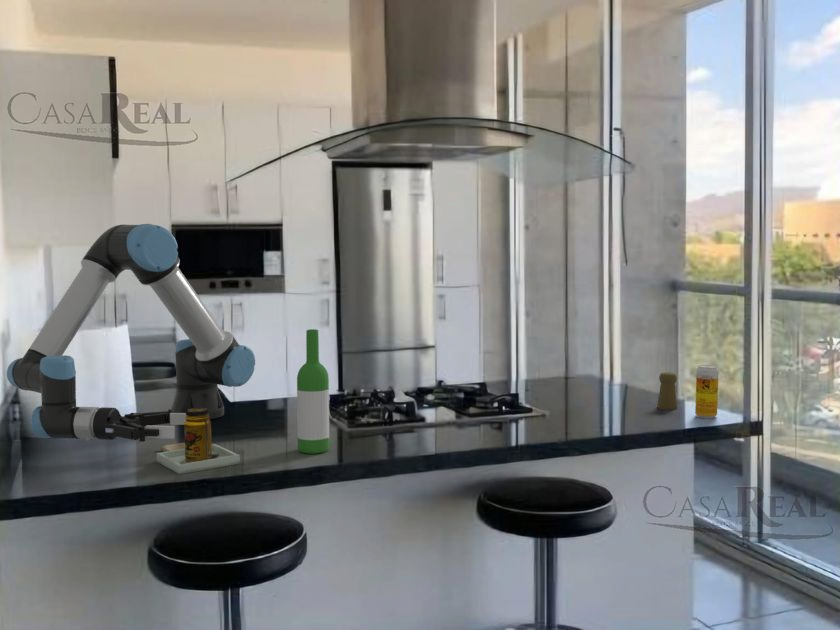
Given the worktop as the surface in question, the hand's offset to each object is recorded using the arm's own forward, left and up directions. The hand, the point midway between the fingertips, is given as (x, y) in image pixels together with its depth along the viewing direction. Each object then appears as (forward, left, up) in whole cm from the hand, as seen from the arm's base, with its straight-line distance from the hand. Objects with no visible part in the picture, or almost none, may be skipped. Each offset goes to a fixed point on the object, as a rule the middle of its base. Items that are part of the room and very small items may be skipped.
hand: (185, 425), depth 197 cm
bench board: (-4, -11, -9) cm, 14 cm away
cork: (-143, +30, -9) cm, 146 cm away
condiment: (-3, +2, -8) cm, 9 cm away
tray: (-2, +2, -9) cm, 9 cm away
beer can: (-141, +45, -9) cm, 148 cm away
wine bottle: (-29, +9, -9) cm, 32 cm away
